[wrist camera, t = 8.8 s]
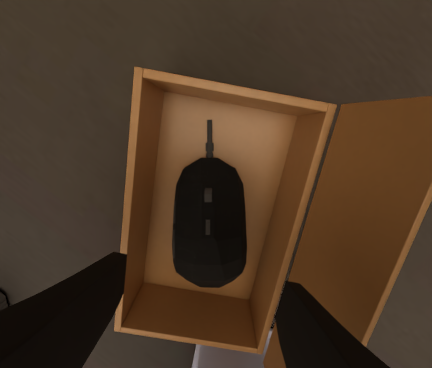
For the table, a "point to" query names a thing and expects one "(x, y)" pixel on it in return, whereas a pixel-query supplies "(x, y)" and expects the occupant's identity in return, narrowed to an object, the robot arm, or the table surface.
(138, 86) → the carton
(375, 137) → the flap
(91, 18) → the table surface
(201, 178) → the gaming mouse
